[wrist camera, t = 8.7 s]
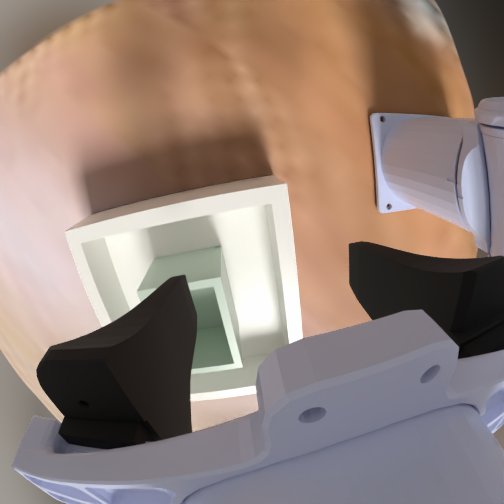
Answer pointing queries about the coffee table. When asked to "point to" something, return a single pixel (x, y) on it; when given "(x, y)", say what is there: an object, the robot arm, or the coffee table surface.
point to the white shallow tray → (194, 238)
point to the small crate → (203, 305)
